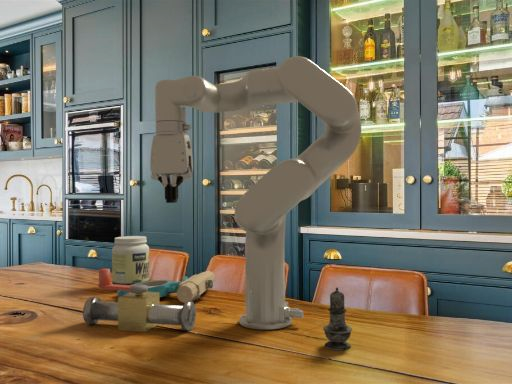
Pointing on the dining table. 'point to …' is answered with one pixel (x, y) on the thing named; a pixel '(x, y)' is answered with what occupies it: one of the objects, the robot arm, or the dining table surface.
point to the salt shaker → (337, 324)
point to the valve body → (139, 312)
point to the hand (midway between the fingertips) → (171, 202)
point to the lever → (105, 284)
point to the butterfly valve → (180, 286)
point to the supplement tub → (130, 260)
